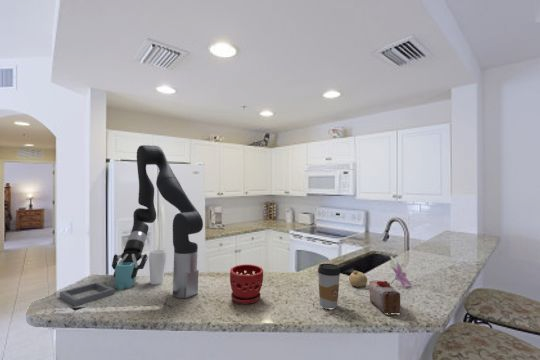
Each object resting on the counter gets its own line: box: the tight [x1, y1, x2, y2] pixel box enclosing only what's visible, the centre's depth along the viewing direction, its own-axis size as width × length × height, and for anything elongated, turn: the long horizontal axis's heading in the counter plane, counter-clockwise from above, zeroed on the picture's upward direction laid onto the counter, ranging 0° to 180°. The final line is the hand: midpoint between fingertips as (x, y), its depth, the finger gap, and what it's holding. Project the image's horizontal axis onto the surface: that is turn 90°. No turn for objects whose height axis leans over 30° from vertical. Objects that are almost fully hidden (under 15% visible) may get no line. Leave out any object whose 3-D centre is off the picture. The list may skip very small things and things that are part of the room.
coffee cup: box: [317, 263, 341, 309], centre depth 100 cm, size 8×8×15 cm
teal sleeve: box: [114, 262, 137, 291], centre depth 111 cm, size 6×8×9 cm
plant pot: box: [229, 264, 264, 305], centre depth 104 cm, size 13×13×12 cm
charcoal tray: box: [59, 281, 115, 312], centre depth 100 cm, size 13×13×4 cm
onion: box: [348, 270, 368, 288], centre depth 122 cm, size 8×8×7 cm
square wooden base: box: [112, 281, 139, 290], centre depth 112 cm, size 8×8×8 cm
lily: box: [390, 262, 413, 290], centre depth 123 cm, size 12×12×10 cm
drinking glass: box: [148, 249, 167, 285], centre depth 117 cm, size 7×7×15 cm
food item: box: [368, 279, 401, 314], centre depth 100 cm, size 14×8×10 cm, turn 4°
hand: (124, 277), depth 110 cm, fingers closed on teal sleeve, 6 cm apart
